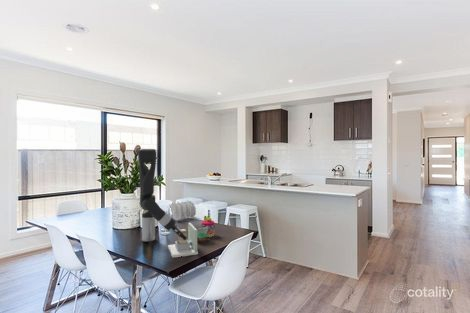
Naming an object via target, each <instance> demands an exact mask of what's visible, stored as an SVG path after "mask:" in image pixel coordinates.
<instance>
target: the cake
mask: <svg viewBox="0 0 470 313" xmlns="http://www.w3.org/2000/svg"><path fill="white" fill-rule="evenodd" d="M212 219H213V218H211V217H210V215H204V216H203V220H202V221H201V223H200V225H201V227H206V226H208V230H207V237H209V238H212V236H213V237H214V236H215V231H216V230H215V227H216V225H215V221H214V220H212ZM201 227H200V228H201Z"/></svg>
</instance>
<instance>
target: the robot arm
mask: <svg viewBox="0 0 470 313" xmlns="http://www.w3.org/2000/svg"><path fill="white" fill-rule="evenodd" d="M137 153H138V154H137V155H138V166H139V190H140V191H139V193H140V194H139V206H140V207H141V209H142V210H143V211H144V212H142V213H141V241H142V242H152V241H154V240H156V221H157V222H158V223H159V224H160V226H163V228H164V229H166V230H167V231H170V230H172V232H173V233H175V234H176V236H177V237H178V236H179V237H181V238H183V239H184V240H186V238H187V239H188V236H187V237H186V236H185V235H184V234H183V233H182V232H181V229H180V227H178V226H177V224H176V223H177V220H175V219H174V218H173V216H171V215H170V214H169V213H167V212H165V210H164V209H162V208H161V207H160V205H159V204H158V203H157V202H156V195H154V193H155V176H156V175H155V173H156V165H157V151H156V149H155V148H140V149H139V150H138V152H137ZM146 163H148V164H150V167H149V168H148V167H147V165H146ZM179 233H181V234H180V235H179Z"/></svg>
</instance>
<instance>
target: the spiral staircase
mask: <svg viewBox="0 0 470 313" xmlns="http://www.w3.org/2000/svg"><path fill="white" fill-rule="evenodd" d="M169 206H170V208H171V210H170V212H171V215H172V218H173V219H174V220H175V221H178V222H179V221H180V220H182V221H183V220H185V219H190V218H195V216H196V214H197V211H196V209H197V208H196V205H195V203H194V202H192V201H191V200H186V201H183V200H181V202H179V201H178V202H177V203H176V202H175V203H174V202H172V203H170V204H169V205H168V207H169Z"/></svg>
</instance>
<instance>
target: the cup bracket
mask: <svg viewBox="0 0 470 313" xmlns="http://www.w3.org/2000/svg"><path fill="white" fill-rule="evenodd" d="M187 226H188V227H187V229H188V230H187V232H188V234H187V235H188V236H187V244H178V240H175V242H174V243H173V244H169V245H167V249H168V251H169V253H170V255H171V257H172V258H179V257H181V256H182V257H187V256H194V255H199V252H198V242H197V228H196V226H194V225H193V223H191V222H188V225H187ZM182 257H181V258H182Z"/></svg>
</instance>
